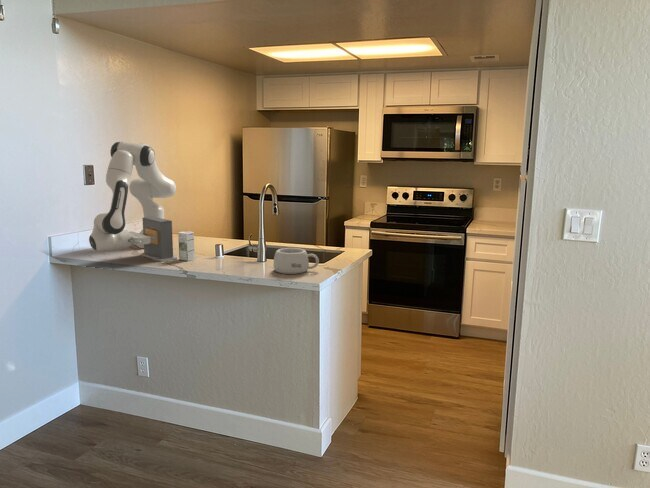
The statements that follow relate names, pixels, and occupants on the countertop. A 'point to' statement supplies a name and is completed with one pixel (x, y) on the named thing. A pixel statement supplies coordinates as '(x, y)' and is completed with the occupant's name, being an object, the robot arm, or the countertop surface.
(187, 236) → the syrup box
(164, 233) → the switch box
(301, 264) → the mug
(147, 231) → the switch button
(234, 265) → the countertop surface
